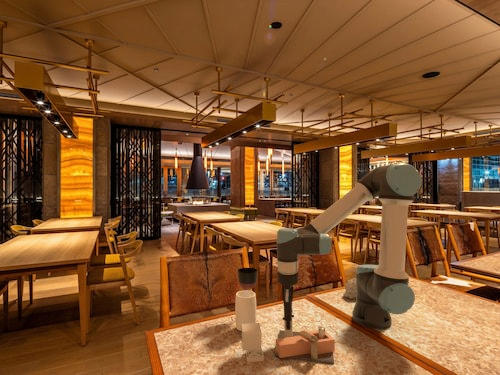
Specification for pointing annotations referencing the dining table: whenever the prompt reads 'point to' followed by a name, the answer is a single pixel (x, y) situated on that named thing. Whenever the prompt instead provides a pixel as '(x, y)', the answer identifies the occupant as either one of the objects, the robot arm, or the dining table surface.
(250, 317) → the cup
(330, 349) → the link
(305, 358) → the base
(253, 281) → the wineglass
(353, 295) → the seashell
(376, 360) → the dining table surface
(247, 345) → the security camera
